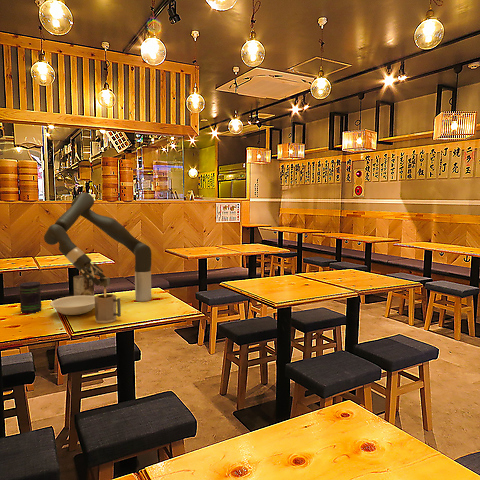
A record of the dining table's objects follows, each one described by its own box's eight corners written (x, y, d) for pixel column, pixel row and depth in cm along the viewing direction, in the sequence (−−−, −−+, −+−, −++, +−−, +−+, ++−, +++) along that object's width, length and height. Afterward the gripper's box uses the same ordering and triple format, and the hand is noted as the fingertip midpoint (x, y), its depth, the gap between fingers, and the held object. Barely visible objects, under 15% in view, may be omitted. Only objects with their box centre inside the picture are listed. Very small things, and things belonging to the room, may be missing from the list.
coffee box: (88, 301, 226) (87, 273, 224) (95, 302, 222) (94, 275, 220) (73, 304, 218) (72, 276, 217) (80, 306, 214) (79, 277, 213)
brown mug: (100, 317, 194) (99, 293, 193) (123, 317, 194) (123, 294, 193) (92, 323, 185) (91, 298, 183) (117, 323, 184) (116, 298, 183)
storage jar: (45, 310, 205) (44, 283, 203) (26, 315, 197) (24, 286, 195) (36, 307, 211) (34, 280, 209) (17, 312, 203) (15, 284, 201)
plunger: (102, 312, 192) (101, 276, 190) (113, 312, 192) (112, 276, 190) (97, 315, 186) (96, 278, 184) (109, 315, 186) (108, 279, 184)
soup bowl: (52, 309, 208) (52, 297, 207) (100, 305, 216) (99, 293, 216) (48, 322, 186) (47, 309, 185) (101, 317, 194) (100, 304, 193)
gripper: (80, 261, 194) (103, 284, 194) (66, 266, 180) (91, 291, 180) (90, 251, 193) (113, 274, 194) (77, 255, 179) (102, 280, 179)
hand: (102, 282), depth 187 cm, fingers open, 8 cm apart
